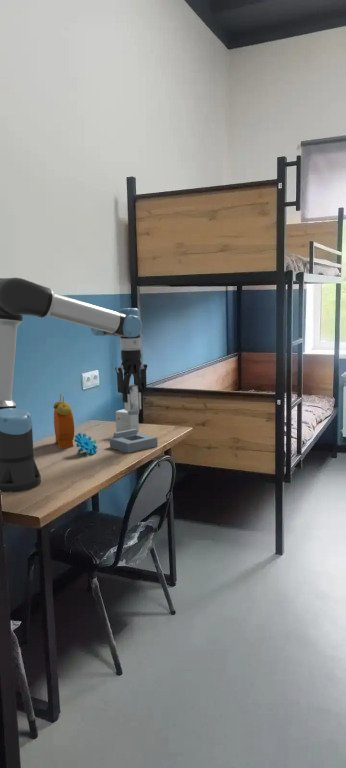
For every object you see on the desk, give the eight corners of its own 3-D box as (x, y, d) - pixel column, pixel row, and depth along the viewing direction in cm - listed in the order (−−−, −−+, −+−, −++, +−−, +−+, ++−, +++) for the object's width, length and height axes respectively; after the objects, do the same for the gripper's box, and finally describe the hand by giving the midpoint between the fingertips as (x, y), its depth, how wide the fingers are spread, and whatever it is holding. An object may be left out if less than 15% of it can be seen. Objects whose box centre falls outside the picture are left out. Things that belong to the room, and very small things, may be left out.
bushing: (131, 415, 223) (130, 386, 221) (125, 413, 226) (123, 385, 224) (141, 413, 225) (140, 385, 224) (134, 412, 229) (133, 384, 227)
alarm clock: (75, 447, 228) (73, 396, 225) (59, 449, 226) (57, 398, 223) (69, 439, 240) (67, 391, 237) (54, 441, 238) (51, 393, 235)
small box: (139, 435, 246) (138, 410, 245) (131, 437, 242) (130, 412, 240) (124, 432, 251) (123, 408, 249) (116, 435, 246) (115, 411, 244)
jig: (127, 453, 219) (127, 439, 218) (110, 446, 228) (109, 433, 227) (157, 446, 227) (157, 432, 227) (139, 440, 237) (138, 427, 236)
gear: (85, 454, 212) (71, 432, 216) (76, 464, 215) (62, 442, 218) (104, 451, 222) (91, 430, 225) (95, 460, 224) (82, 440, 228)
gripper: (117, 351, 214) (119, 414, 217) (155, 347, 224) (157, 407, 228) (105, 350, 219) (108, 411, 223) (143, 346, 230) (145, 405, 234)
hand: (133, 409), depth 225 cm, fingers closed on bushing, 4 cm apart
